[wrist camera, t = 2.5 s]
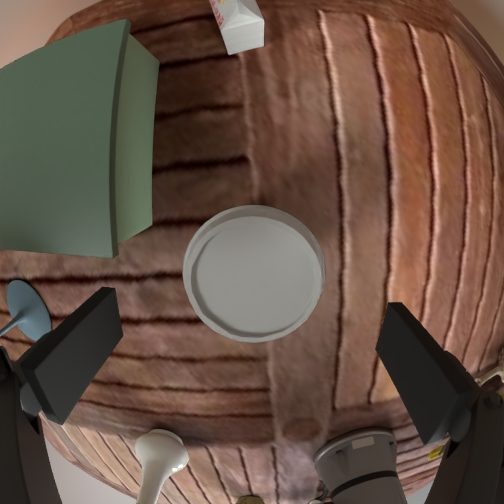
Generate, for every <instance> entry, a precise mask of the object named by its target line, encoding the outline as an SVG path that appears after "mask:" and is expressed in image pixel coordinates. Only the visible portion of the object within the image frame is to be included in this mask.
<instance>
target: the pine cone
mask: <svg viewBox="0 0 504 504" xmlns="http://www.w3.org/2000/svg"><path fill="white" fill-rule="evenodd" d="M500 356H501V360H500V361H499V364H498V366H497V367H496V368H494V369H493V370H491V371H489V372H488V373H487V374H485V375H483V376H481V377H480V378H476V379H475V381H476V383H477V384H478V385H479V386H480V387H481V385H482V384H483V383H484V382H486V381H487V380H488V379H490V378H492V377H493V376H495V375H496V374H499V375H501V377H500V378H502V379H501V380H502V382H504V347H503V348H502V350H501V351H500Z"/></svg>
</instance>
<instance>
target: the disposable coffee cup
mask: <svg viewBox="0 0 504 504" xmlns="http://www.w3.org/2000/svg"><path fill="white" fill-rule="evenodd" d="M183 280H184V286H185V290H186V292H187V295H188V298H189V301H190V303H191V305H192V307H193V309H194V310H195V312H196V313H197V315H198V316H199V317H200V319H201V320H202V321H203V322H204V323H205V324H207V325H208V326H209V327H210V328H211V329H212V330H214V331H216V332H217V333H219V334H221V335H223V336H225V337H228V338H230V339H233V340H237V341H242V342H252V343H257V342H265V341H271V340H274V339H278V338H281V337H283V336H285V335H287V334H289V333H291V332H292V331H294V330H295V329H297V328H298V327H299V326H300V325H302V324H303V323H304V322H305V321H306V320H307V318H308V317H309V316H310V314H311V313H312V311H313V310H314V308H315V306H316V304H317V302H318V300H319V298H320V296H321V294H322V290H323V287H324V281H325V263H324V258H323V254H322V251H321V249H320V246H319V244H318V242H317V240H316V239H315V237H314V236H313V234H312V233H311V232H310V230H309V229H308V228H307V227H306V226H305V225H304V224H302V223H301V222H300V221H299V220H298V219H296V218H295V217H293V216H292V215H290V214H288V213H286V212H284V211H281V210H279V209H276V208H274V207H268V206H262V205H245V206H238V207H234V208H231V209H228V210H225V211H222V212H220V213H219V214H217V215H216V216H214V217H213V218H211V219H210V220H208V221H207V222H205V223H204V224H203V225H202V226H201V228H200V229H199V230H198V231H197V232H196V233H195V235H194V236H193V238H192V240H191V241H190V243H189V244H188V247H187V250H186V254H185V257H184V262H183Z"/></svg>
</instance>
